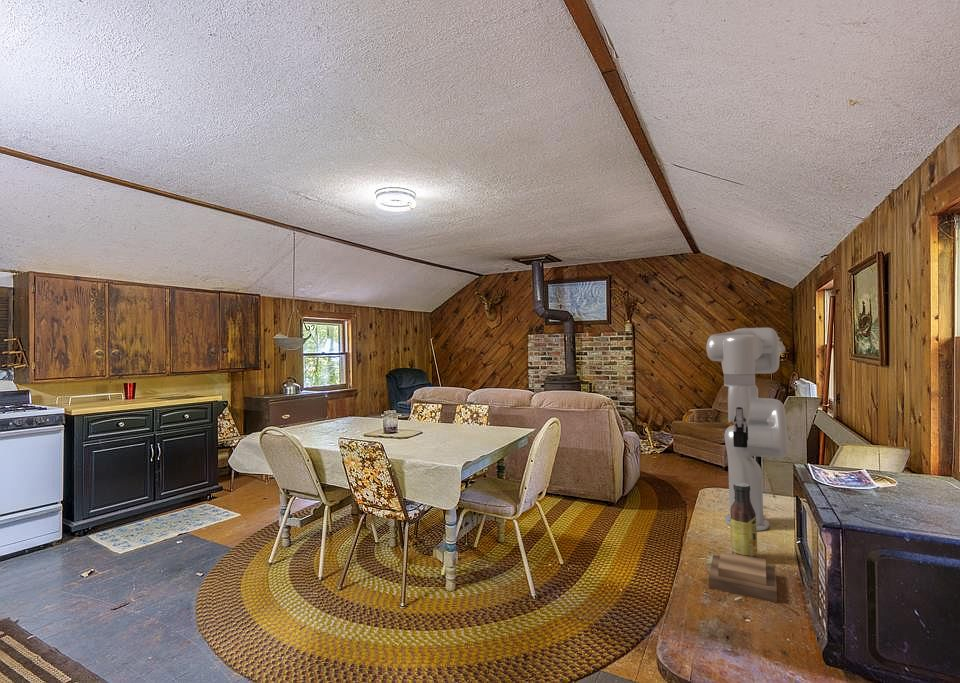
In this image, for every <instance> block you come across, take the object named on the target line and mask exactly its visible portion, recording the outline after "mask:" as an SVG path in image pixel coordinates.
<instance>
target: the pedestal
mask: <svg viewBox="0 0 960 683" xmlns="http://www.w3.org/2000/svg"><path fill="white" fill-rule="evenodd" d="M776 575H777V573H776V566H775V565H773V564H768V563H766V559H765V558H759V557H757V558H754V557H748V556H743V555H737V554H732V552H724V551H720V555H718V554H717V555H715V554H713V555H712V560H711V565H710V570H709V575H708V589H710V588H711V589H712V590H715V589H717V590H716V591H719V590H721V591H720V592H724V593H725V592H726V593H731V594H733V595H734V594H735V595H740V596H744V597H749V598H752V599H757V600H758V599H759V600H763V601H767V602H772V603H778V594H777V593H778V592H777V591H778V590H777V576H776Z"/></svg>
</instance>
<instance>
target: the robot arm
mask: <svg viewBox="0 0 960 683" xmlns="http://www.w3.org/2000/svg"><path fill="white" fill-rule="evenodd" d="M705 346H706V347H705V349H706V355H707V357H708V358H709V360H710V361H712V362H721V369H722V373H723V385H724V387H727V412H728V416H727V422H728V423H729V424H731V423H733V425H730V426H728V427H727V428H726V429H725V431H724V435H723V436H724V437H723V438H724V443H725V444H724V445H725V448H726V454H727V455H726V456H727V464H728V466H727V467H728V472H727V473H728V495H729V496H728V501H729V514H726V515H724V522H725V523H726V524H727V525H729V526H731V522H730V518H731V511H730V509H731V506H732V504H733V503H734V501H735V499H734V497H735V492H734V487H733V484H734V483H746V484H749V485H750V501H751V504H752V507H753V509H754V511H755V514H756V527H757V532H759V531H760V532H761V531H765V530H767V529H769V528H770V522H769V521H768V520H767V519H765V518H764V490H763V489H764V488H763V471H762V467H761V465H760V464H759V463H758V462H757V461H756V460H755V459H754V458H753V457H761V458H762V457H764V458H774V459H775V458H784V457H785V456H787V453H788V451H789V437H788V425H787V415H786V414H787V413H786V408H785V405H784V404H783V402H782V401H781V400H779V399H776V398H769V397H767V398H765V397H763V398H762V397H759V389H758V386H757V385H756V375H757V374H758V375H759V374H763V375H764V374H769V375H770V374H774V373H776V372H777V371H778V370H779V367H780V339H779V336H778V333H777V331H776V330H775V329H774V328H772V327H743V328H742V327H741V328H736V329H734V330H731V331H727V332H721V333H714V334H711V335H709V337H708V339H707V342H706V345H705Z"/></svg>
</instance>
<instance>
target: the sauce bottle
mask: <svg viewBox="0 0 960 683" xmlns="http://www.w3.org/2000/svg"><path fill="white" fill-rule="evenodd" d="M733 487H734V492H735V497H734V499H735V501H734V503H733V504H732V506H731V509H730V508H729V512H730V511H731V518H730V522H731V525H730V538H731V539H730V540H731V541H730V542H731V543H730V544H731V551H732V552H731V554H737V555H743V556H748V557H754V558H758V534H757V533H758V531H757V527H756V514H755V511H754V509H753V507H752V504H751V501H750V485H749V484H746V483H734V484H733Z"/></svg>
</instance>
